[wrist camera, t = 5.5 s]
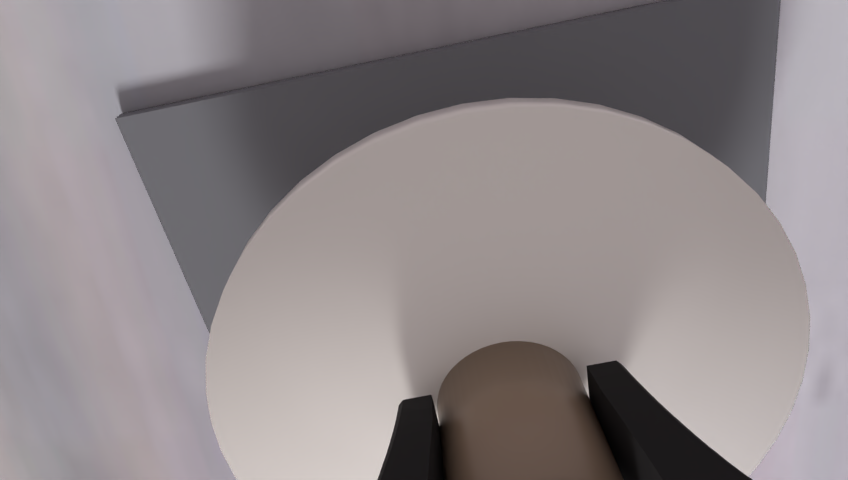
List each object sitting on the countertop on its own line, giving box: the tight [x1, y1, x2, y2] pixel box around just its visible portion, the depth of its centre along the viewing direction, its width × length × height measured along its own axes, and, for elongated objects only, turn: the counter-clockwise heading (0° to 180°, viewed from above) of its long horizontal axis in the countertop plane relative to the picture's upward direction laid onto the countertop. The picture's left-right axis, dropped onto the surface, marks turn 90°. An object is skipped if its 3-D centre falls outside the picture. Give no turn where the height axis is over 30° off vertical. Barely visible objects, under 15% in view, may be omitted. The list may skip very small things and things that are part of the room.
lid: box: [206, 98, 810, 480], centre depth 12 cm, size 13×13×4 cm
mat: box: [115, 0, 780, 333], centre depth 18 cm, size 16×13×1 cm
